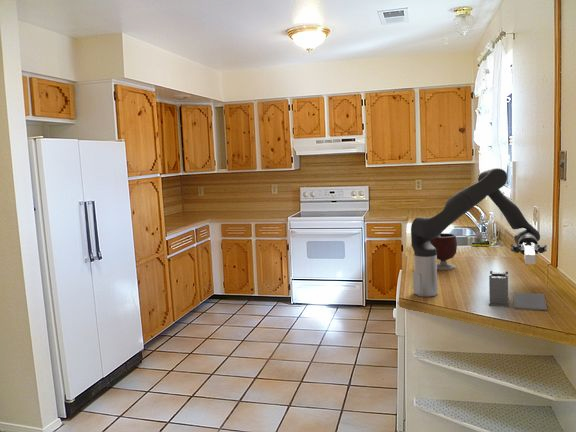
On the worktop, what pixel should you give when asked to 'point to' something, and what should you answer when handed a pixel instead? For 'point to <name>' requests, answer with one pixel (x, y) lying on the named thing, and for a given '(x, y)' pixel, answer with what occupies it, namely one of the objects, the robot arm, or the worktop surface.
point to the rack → (498, 289)
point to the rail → (529, 254)
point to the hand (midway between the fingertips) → (529, 252)
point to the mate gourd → (445, 249)
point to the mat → (529, 301)
